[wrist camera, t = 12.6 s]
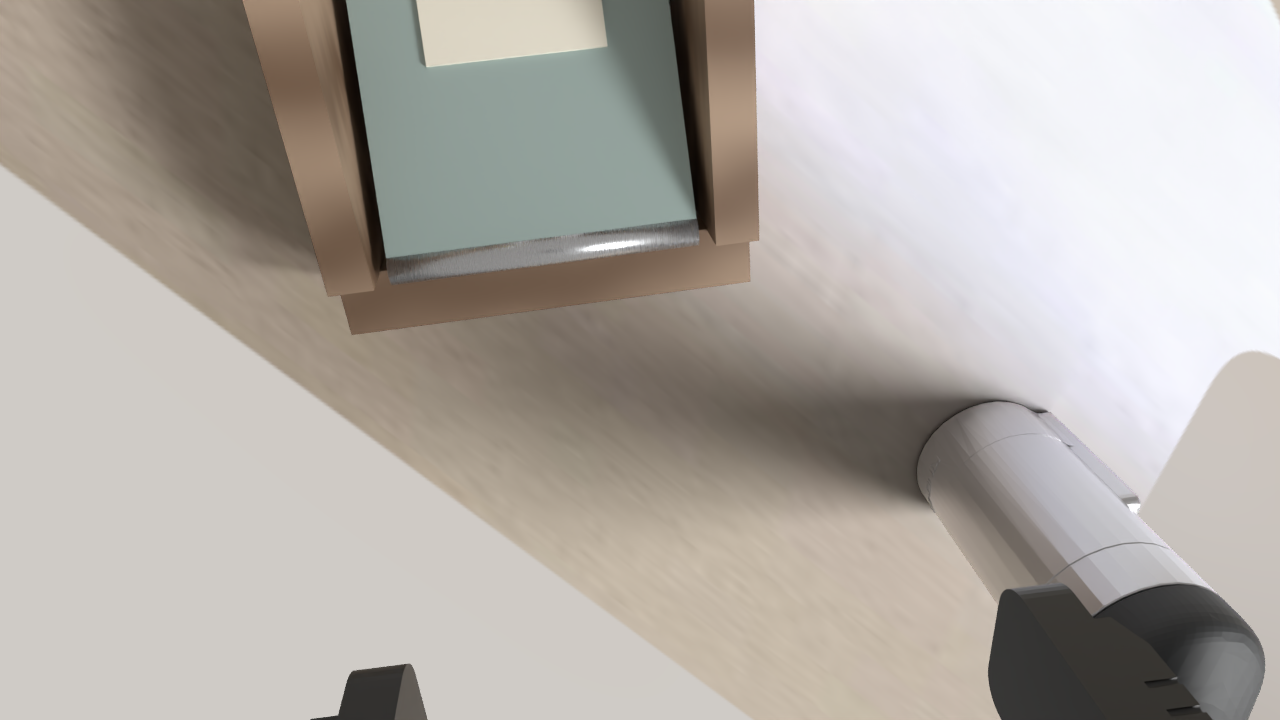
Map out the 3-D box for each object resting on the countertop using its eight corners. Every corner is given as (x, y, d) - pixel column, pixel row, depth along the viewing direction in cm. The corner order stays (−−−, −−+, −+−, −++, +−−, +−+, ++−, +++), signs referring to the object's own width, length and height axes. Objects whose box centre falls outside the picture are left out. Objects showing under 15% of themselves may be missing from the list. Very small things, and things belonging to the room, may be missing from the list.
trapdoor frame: (720, 233, 48) (760, 298, 41) (372, 278, 47) (344, 354, 39) (701, -182, 39) (749, -203, 31) (264, -141, 37) (198, -152, 30)
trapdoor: (695, 246, 40) (700, 244, 39) (395, 285, 39) (389, 284, 38) (649, -120, 39) (652, -136, 38) (337, -89, 38) (328, -104, 37)
